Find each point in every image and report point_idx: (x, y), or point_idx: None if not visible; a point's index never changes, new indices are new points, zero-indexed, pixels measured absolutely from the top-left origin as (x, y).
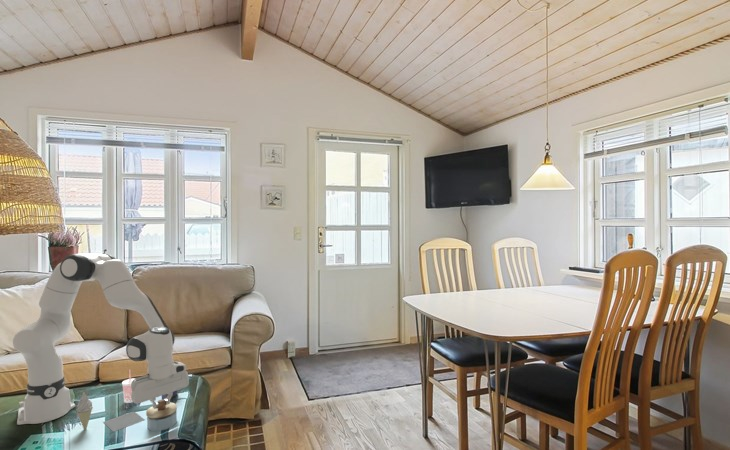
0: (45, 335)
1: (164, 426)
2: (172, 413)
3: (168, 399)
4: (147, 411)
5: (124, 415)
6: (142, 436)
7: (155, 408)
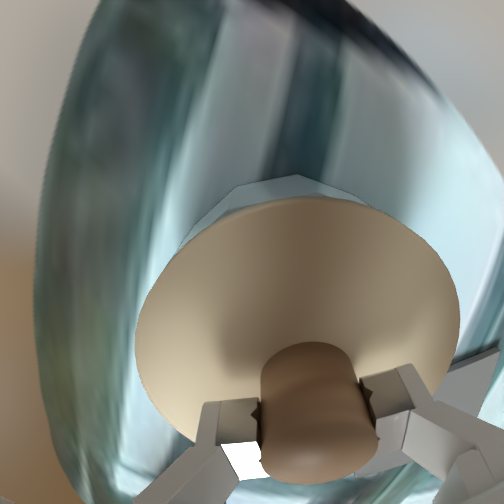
0: None
1: (303, 179)
2: None
3: (216, 452)
4: (430, 387)
5: (398, 461)
6: (437, 209)
7: (407, 366)
